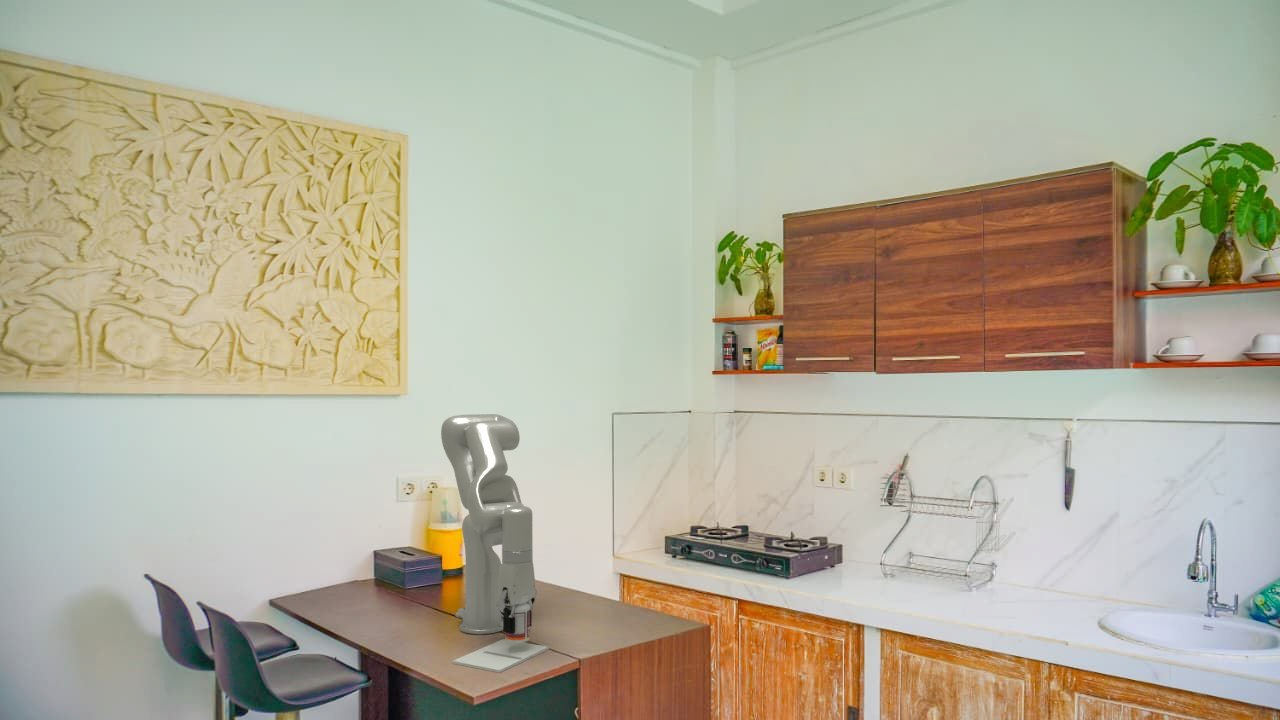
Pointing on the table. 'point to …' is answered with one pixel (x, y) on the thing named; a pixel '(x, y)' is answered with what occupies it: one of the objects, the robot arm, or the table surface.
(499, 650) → the mat
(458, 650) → the table surface
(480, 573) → the robot arm
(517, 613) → the pill bottle
